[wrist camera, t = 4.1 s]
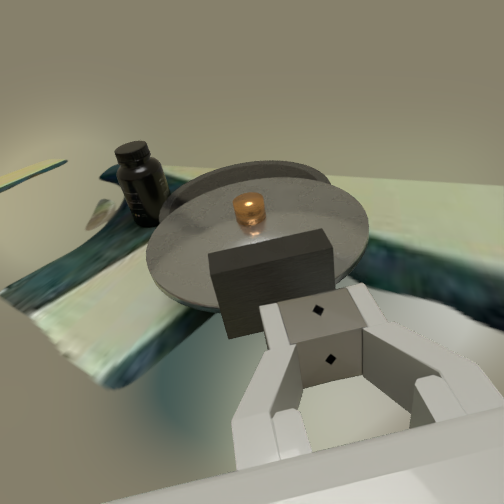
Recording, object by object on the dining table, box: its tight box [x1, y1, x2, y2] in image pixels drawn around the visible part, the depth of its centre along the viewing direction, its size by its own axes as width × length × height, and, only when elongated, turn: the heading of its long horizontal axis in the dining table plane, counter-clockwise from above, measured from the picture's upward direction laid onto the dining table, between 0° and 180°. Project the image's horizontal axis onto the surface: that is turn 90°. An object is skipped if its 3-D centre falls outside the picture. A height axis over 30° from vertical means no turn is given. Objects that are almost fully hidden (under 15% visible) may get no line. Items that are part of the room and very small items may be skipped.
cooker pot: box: [159, 161, 331, 223], centre depth 49 cm, size 20×20×9 cm
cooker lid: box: [146, 177, 369, 339], centre depth 37 cm, size 23×21×6 cm
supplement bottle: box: [115, 141, 171, 227], centre depth 62 cm, size 7×7×12 cm
